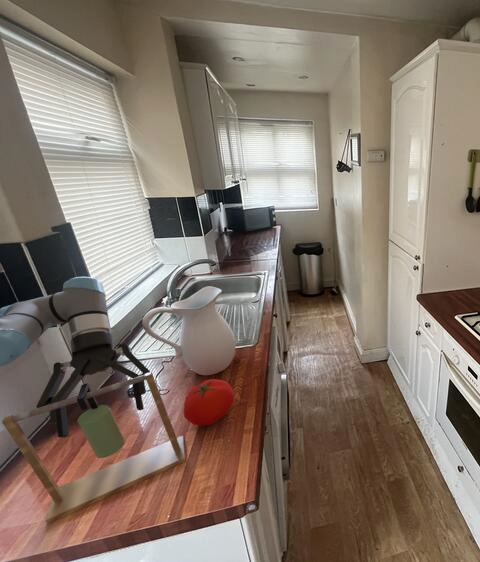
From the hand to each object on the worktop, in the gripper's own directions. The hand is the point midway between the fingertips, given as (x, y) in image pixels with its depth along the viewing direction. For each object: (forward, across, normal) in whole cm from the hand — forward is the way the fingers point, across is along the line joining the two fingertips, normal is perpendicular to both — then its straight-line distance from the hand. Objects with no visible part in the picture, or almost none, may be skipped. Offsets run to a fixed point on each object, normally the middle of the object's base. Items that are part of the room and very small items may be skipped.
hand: (103, 422), depth 69 cm
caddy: (+6, 0, -1) cm, 6 cm away
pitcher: (-11, -20, -31) cm, 39 cm away
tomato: (+7, -20, -14) cm, 25 cm away
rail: (+12, 0, -8) cm, 14 cm away
